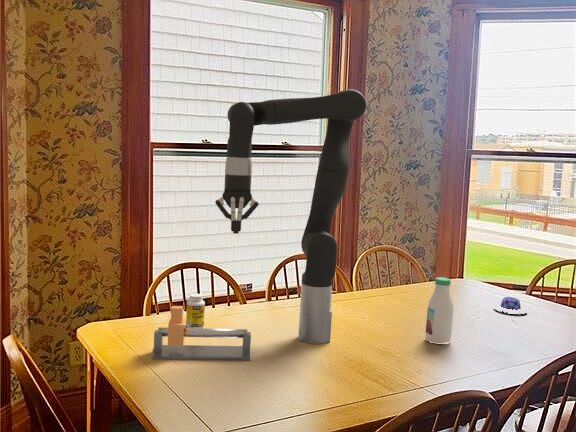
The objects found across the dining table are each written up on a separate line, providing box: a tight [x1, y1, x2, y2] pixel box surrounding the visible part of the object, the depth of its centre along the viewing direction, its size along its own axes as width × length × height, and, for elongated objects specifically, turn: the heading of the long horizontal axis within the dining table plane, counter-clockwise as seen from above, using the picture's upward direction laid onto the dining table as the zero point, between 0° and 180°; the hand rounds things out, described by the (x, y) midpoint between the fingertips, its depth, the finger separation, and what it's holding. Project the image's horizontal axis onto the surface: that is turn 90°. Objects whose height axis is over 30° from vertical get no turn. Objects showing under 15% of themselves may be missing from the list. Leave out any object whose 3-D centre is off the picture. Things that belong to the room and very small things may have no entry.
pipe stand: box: [151, 327, 252, 361], centre depth 169 cm, size 26×9×7 cm, turn 96°
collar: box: [167, 305, 186, 347], centre depth 167 cm, size 4×6×10 cm, turn 6°
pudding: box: [499, 296, 522, 310], centre depth 231 cm, size 12×12×5 cm
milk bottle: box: [424, 277, 454, 343], centre depth 190 cm, size 8×8×20 cm
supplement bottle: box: [185, 293, 206, 328], centre depth 192 cm, size 6×6×10 cm
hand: (235, 233), depth 178 cm, fingers closed
